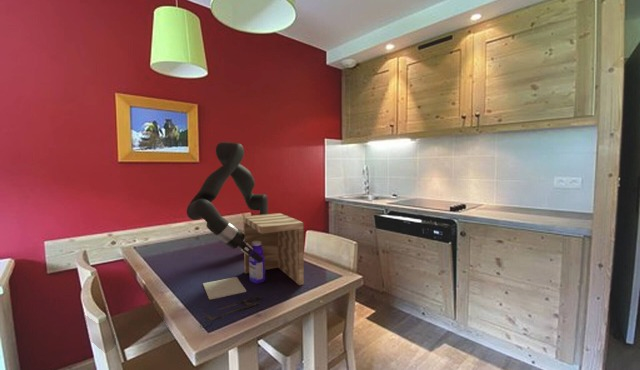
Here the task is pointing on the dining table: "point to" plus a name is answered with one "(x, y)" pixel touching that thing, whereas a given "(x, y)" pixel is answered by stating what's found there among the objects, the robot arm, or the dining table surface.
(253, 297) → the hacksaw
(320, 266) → the dining table surface
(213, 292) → the mat
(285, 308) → the dining table surface
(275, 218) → the wooden slatted crate
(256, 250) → the bottle
